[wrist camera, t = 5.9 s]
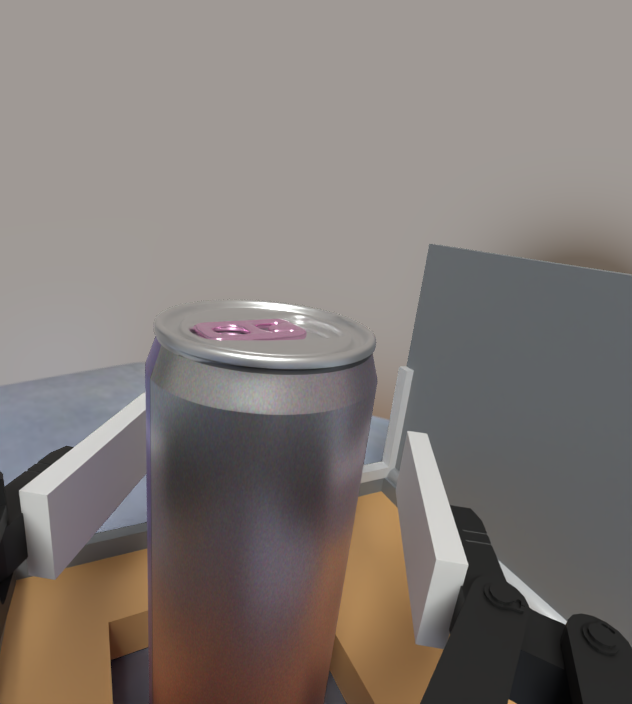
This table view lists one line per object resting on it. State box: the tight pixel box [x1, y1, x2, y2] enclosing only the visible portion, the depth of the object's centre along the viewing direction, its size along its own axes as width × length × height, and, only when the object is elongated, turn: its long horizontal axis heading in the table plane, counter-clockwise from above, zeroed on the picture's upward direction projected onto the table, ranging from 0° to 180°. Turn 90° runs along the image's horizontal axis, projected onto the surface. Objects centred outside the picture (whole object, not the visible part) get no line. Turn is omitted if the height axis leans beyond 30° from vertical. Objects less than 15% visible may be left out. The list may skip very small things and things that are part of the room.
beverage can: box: [145, 300, 377, 704], centre depth 13 cm, size 6×6×15 cm
